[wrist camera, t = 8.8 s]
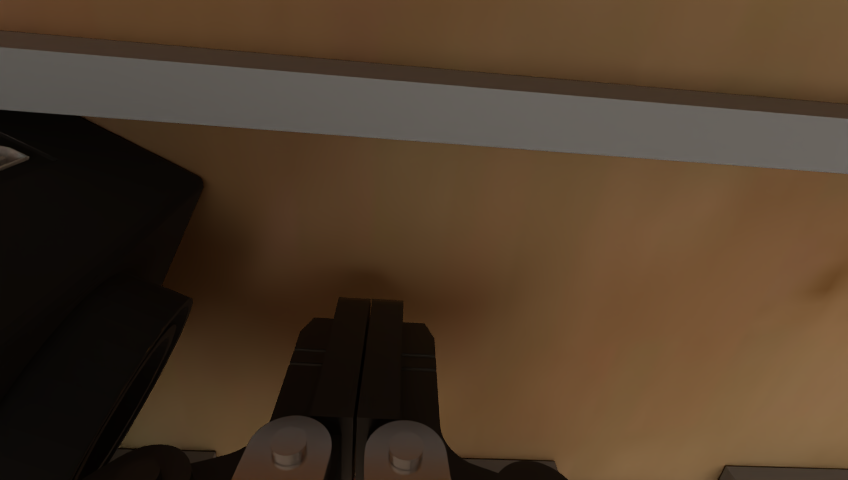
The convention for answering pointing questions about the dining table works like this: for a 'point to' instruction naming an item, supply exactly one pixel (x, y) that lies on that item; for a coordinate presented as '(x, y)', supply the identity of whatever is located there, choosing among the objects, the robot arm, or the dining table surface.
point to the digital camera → (82, 289)
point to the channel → (422, 116)
